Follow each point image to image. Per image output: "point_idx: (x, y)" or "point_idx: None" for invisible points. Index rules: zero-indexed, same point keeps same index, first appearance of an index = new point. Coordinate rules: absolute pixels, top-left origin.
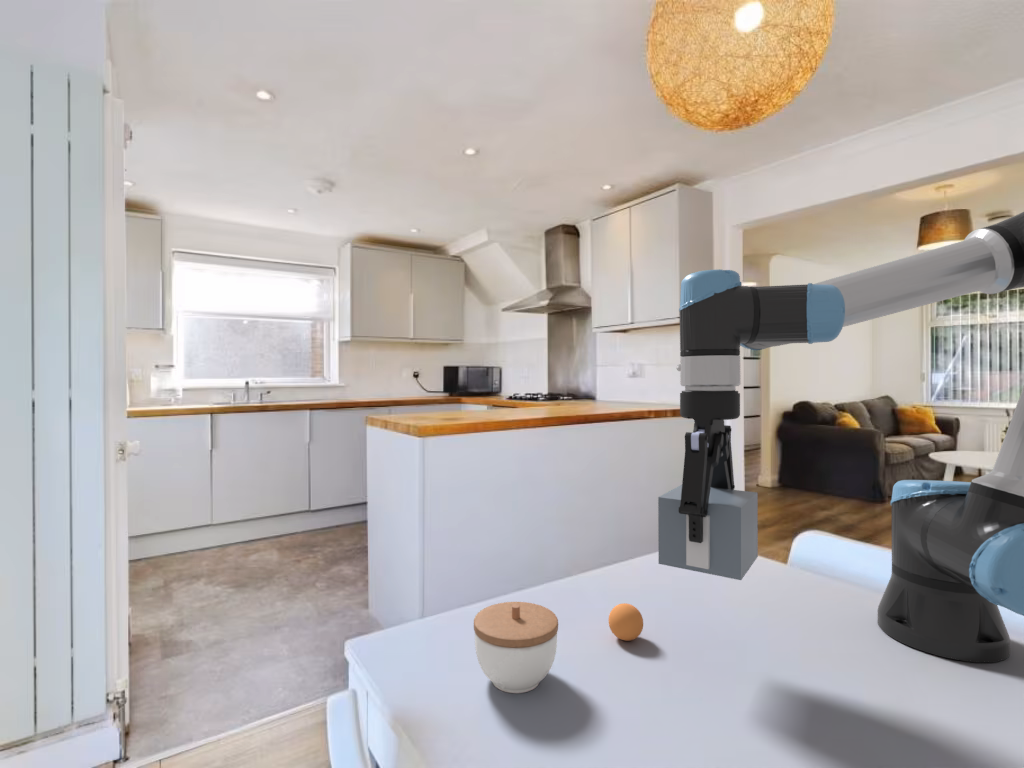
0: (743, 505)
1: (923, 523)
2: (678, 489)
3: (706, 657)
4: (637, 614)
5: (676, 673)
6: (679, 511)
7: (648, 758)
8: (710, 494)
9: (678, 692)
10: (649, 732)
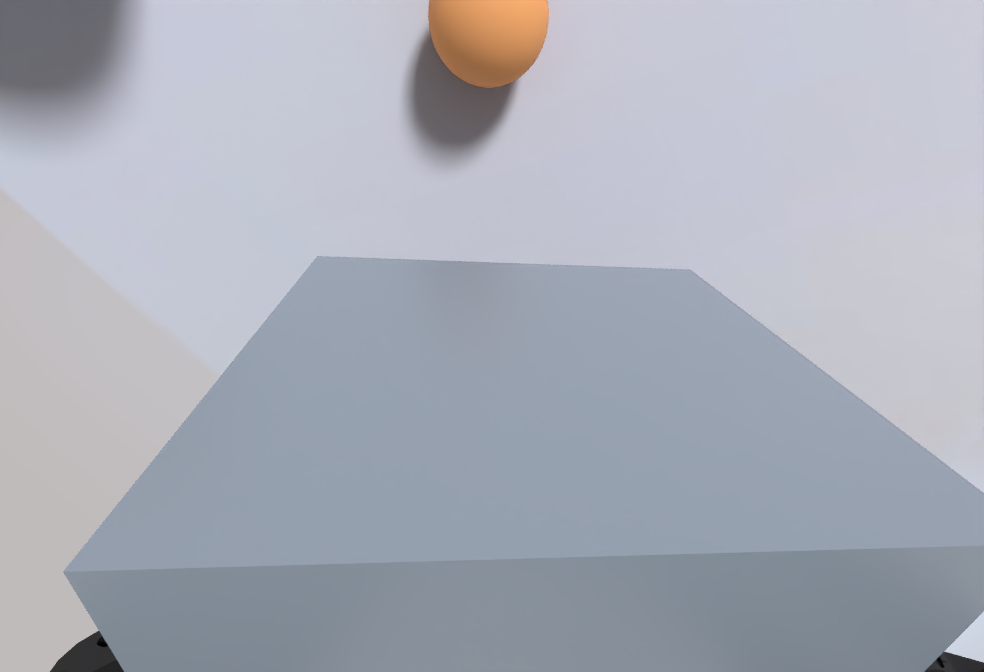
0: None
1: None
2: (696, 593)
3: (499, 255)
4: (484, 69)
5: (389, 215)
6: (71, 656)
7: (75, 249)
8: None
9: (318, 239)
10: (143, 228)
